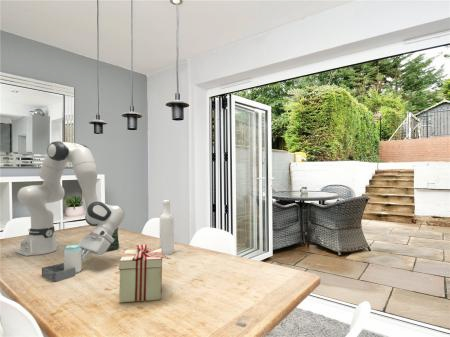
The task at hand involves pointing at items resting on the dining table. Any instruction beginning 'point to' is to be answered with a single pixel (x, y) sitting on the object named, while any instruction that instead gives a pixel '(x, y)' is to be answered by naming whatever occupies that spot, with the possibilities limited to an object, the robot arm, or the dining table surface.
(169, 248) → the bottle
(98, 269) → the dining table surface
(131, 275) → the gift box
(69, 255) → the can
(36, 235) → the robot arm
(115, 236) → the coffee jar
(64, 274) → the grey u-shaped bracket
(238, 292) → the dining table surface
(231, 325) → the dining table surface
